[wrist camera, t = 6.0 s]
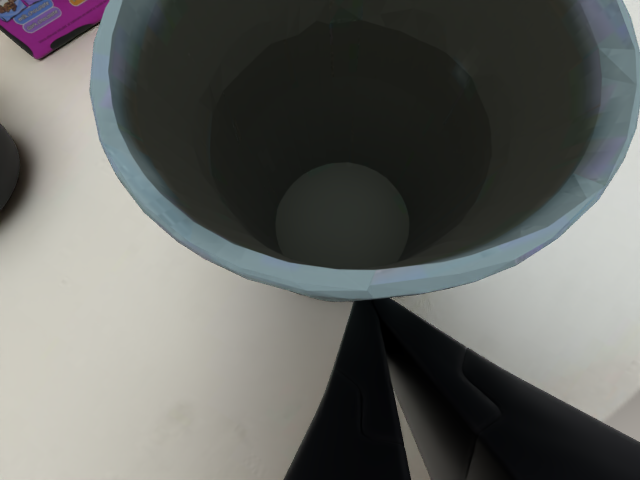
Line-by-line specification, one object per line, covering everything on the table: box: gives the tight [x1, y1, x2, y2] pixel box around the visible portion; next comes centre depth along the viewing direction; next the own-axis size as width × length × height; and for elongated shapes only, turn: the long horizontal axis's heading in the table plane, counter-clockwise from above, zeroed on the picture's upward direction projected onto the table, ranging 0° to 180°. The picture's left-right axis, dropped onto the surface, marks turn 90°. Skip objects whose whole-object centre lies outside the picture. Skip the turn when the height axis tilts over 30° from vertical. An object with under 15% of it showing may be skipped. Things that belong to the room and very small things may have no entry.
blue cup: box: [90, 0, 640, 302], centre depth 11 cm, size 10×10×12 cm
